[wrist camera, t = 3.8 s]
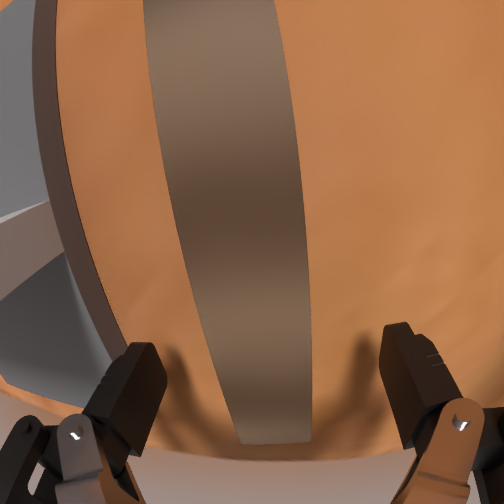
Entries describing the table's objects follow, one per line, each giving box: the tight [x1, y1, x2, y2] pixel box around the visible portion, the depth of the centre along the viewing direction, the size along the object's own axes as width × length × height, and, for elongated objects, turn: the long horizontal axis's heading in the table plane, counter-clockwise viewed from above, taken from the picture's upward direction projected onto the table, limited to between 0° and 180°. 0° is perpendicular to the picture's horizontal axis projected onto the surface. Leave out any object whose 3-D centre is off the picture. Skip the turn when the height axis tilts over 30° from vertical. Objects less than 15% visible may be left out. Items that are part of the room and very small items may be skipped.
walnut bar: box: [143, 0, 312, 445], centre depth 8 cm, size 20×3×4 cm, turn 8°
